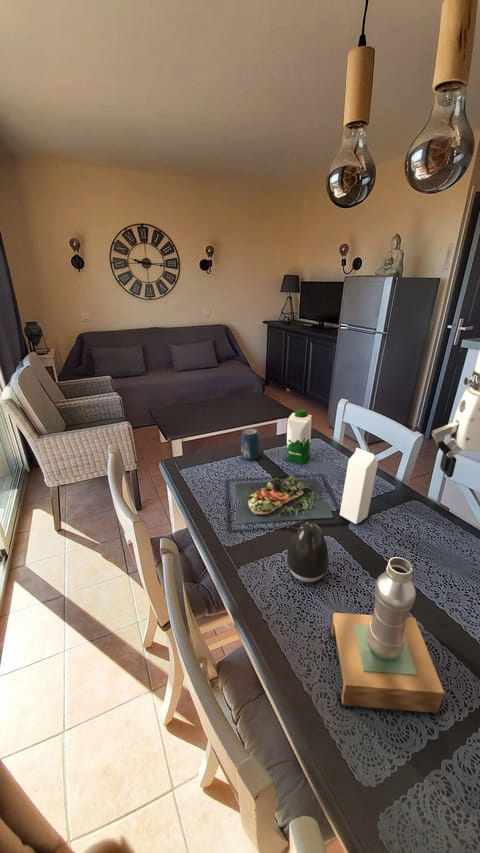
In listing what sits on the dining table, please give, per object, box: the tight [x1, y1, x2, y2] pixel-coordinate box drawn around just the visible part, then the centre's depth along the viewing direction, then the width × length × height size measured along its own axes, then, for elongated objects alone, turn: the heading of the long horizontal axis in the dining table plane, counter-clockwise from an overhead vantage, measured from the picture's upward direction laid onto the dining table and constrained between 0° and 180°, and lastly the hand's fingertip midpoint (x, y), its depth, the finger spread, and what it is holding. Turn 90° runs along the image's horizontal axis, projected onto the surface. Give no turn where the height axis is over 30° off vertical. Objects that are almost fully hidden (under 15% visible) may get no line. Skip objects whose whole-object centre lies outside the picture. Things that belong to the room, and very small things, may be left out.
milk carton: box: [286, 408, 312, 464], centre depth 140 cm, size 9×9×20 cm
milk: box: [339, 447, 379, 525], centre depth 106 cm, size 6×6×22 cm
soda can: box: [240, 427, 260, 462], centre depth 144 cm, size 7×7×12 cm
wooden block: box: [331, 612, 445, 714], centre depth 68 cm, size 16×14×6 cm
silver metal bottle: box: [367, 556, 417, 659], centre depth 62 cm, size 6×7×20 cm
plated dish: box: [234, 476, 334, 525], centre depth 117 cm, size 35×28×7 cm
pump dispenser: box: [286, 521, 330, 583], centre depth 88 cm, size 10×10×15 cm
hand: (474, 474), depth 66 cm, fingers open, 9 cm apart
